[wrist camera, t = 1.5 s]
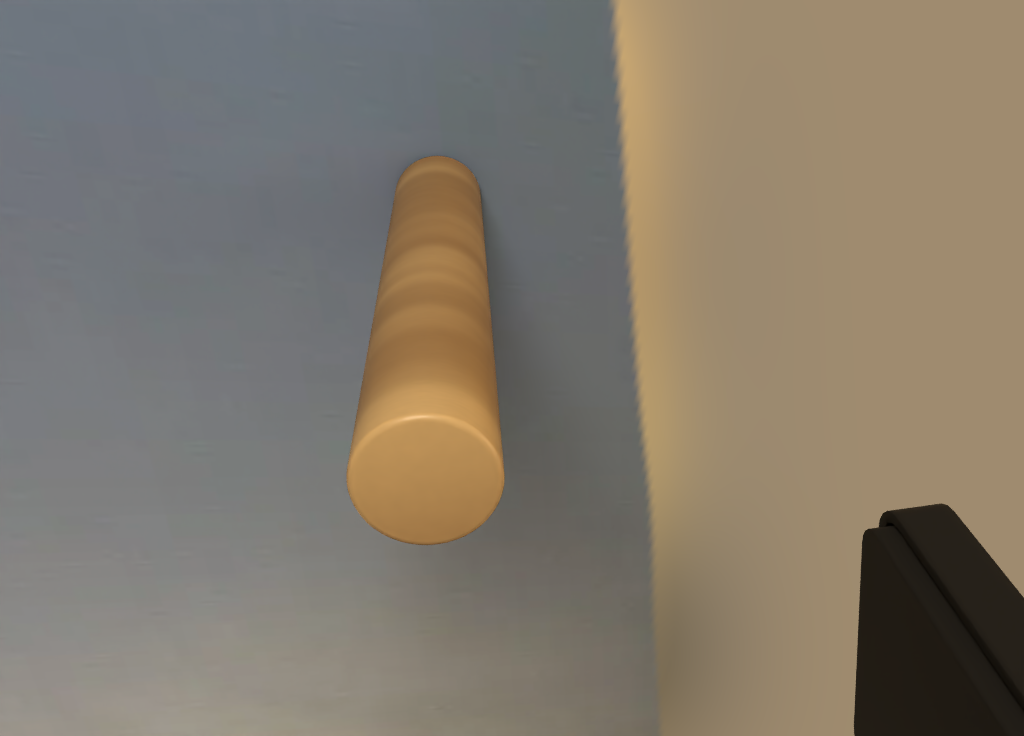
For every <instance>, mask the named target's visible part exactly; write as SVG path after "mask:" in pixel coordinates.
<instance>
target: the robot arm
mask: <svg viewBox="0 0 1024 736" xmlns="http://www.w3.org/2000/svg"><path fill="white" fill-rule="evenodd" d="M861 561H862V562H861V581H860V583H861V584H860V604H859V626H858V648H857V670H856V692H855V694H856V695H855V715H854V734H855V736H1024V598H1023V596H1022V595H1021V594H1020V593H1019V591H1018V590H1017V589H1016V588H1015V586H1014V585H1013V584H1012V583H1011V582H1010V580H1009V579H1008V578H1007V576H1006V575H1005V574H1004V573H1003V571H1002V570H1001V569H1000V568H999V566H998V565H997V564H996V563H995V561H994V560H993V559H992V558H991V557H990V555H989V554H988V553H987V552H986V550H985V549H984V548H983V547H982V545H981V544H980V543H979V542H978V540H977V539H976V538H975V537H974V535H973V534H972V533H971V532H970V530H969V529H968V528H967V527H966V525H965V524H964V523H963V522H962V521H961V519H960V518H959V517H958V516H957V514H956V513H955V512H954V511H953V510H952V509H951V508H950V507H949V506H948V505H945V504H935V505H928V506H922V507H914V508H907V509H899V510H892V511H886V512H885V513H883V514H882V516H881V518H880V522H879V528H872V529H868V530H866V531H865V532H864V535H863V541H862V560H861Z"/></svg>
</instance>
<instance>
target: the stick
mask: <svg viewBox="0 0 1024 736" xmlns="http://www.w3.org/2000/svg"><path fill="white" fill-rule="evenodd" d="M347 487H348V492H349V495H350V498H351V500H352V502H353V504H354V506H355V508H356V509H357V511H358V512H359V514H360V515H361V516H362V518H363V519H364V520H365V521H366V522H367V523H368V524H369V525H371V526H372V527H373V528H374V529H376V530H377V531H379V532H380V533H382V534H384V535H386V536H388V537H390V538H392V539H395V540H398V541H401V542H405V543H410V544H417V545H433V544H441V543H446V542H450V541H453V540H457V539H459V538H461V537H464V536H466V535H467V534H469V533H471V532H473V531H474V530H476V529H477V528H478V527H480V526H481V525H482V524H483V523H484V522H485V521H486V520H487V519H488V518H489V516H490V515H491V514H492V513H493V511H494V510H495V508H496V506H497V505H498V503H499V500H500V498H501V496H502V492H503V488H504V465H503V453H502V442H501V430H500V418H499V406H498V395H497V383H496V371H495V359H494V347H493V336H492V324H491V312H490V300H489V289H488V277H487V265H486V253H485V242H484V230H483V218H482V206H481V194H480V188H479V185H478V182H477V180H476V178H475V177H474V175H473V174H472V172H471V171H470V170H469V169H468V168H467V167H466V166H465V165H463V164H462V163H460V162H459V161H457V160H454V159H452V158H449V157H444V156H431V157H426V158H423V159H420V160H418V161H416V162H414V163H413V164H411V165H410V166H409V167H408V168H407V169H406V170H405V171H404V172H403V174H402V175H401V177H400V179H399V181H398V183H397V187H396V191H395V197H394V203H393V209H392V214H391V220H390V226H389V232H388V237H387V243H386V249H385V255H384V260H383V266H382V272H381V278H380V283H379V289H378V295H377V300H376V306H375V312H374V318H373V323H372V329H371V335H370V341H369V346H368V352H367V358H366V364H365V369H364V375H363V381H362V387H361V392H360V398H359V404H358V410H357V415H356V421H355V427H354V432H353V438H352V444H351V450H350V455H349V461H348V467H347Z"/></svg>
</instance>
